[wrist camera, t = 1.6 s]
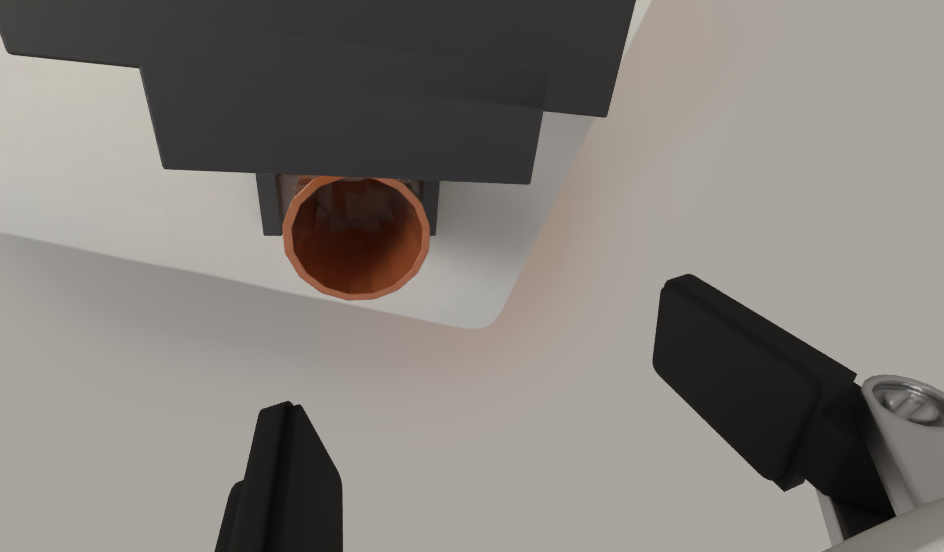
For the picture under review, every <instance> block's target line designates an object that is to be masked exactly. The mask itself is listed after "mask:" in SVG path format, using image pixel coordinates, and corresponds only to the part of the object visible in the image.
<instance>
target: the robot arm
mask: <svg viewBox="0 0 944 552" xmlns="http://www.w3.org/2000/svg"><path fill="white" fill-rule="evenodd" d="M653 367H654V369H655V371H656V372H657V374H658V375H659V376H660V377H661V378H662V379H663V380H664V381H665V382H666V383H667V384H668V385H669V386H670V387H671V388H672V389H674V390H675V392H676V393H678V394H679V395H680V396H681V397H682V398H683V399H684V400H685V401H686V402H687V403H688V404H689V405H690V406H691V407H692V408H693V409H694V410H695V411H696V412H697V413H698V414H699V415H700V416H701V417H702V418H703V419H704V420H705V421H706V422H707V423H708V424H709V425H710V426H711V427H712V428H713V429H714V430H715V431H716V432H717V433H718V434H720V436H721V437H722V438H724V440H725V441H727V443H728V444H730V445H731V447H733V448H734V449H735V450H736V451H737V452H738V453H739V454H740V455H741V456H742V457H743V458H744V459H745V460H746V461H747V462H748V463H749V464H750V465H751V466H752V467H753V468H754V469H755V470H756V471H757V472H758V473H759V474H760V475H761V476H763V477H764V478H766V479H768V480H772V481H773V482H775V483H776V484H777V485H778V486H779V487H780V488H781V489H782V490H783V491H784V492H785V491H787V490H789V489H791V488H794V487H796V486H798V485H800V484H802V483H804V481H805V479H806V480H807V481H809V482H810V483H811V484H812V485H813V486H814V487H815V488H816V491H817V495H818V498H819V502H820V505H821V509H822V513H823V516H824V519H825V523H826V527H827V530H828V534H829V537H830V541H831V544H832V547H831V548H829V549H827V550H825V551H823V552H944V392H942V391H940V390H938V389H936V388H934V387H932V386H930V385H928V384H925V383H923V382H920V381H917V380H914V379H910V378H906V377H901V376H896V375H878V376H872V377H870V378H868V379H867V380H865V381H864V383H863V385H862V387H861V386H859V385H857V384H856V383H854V380H855V378H856V375H857V374H856V373H855V372H853V371H851V370H850V369H848V368H847V367H845V366H843V365H842V364H840V363H838V362H836V361H835V360H833V359H832V358H830V357H828V356H827V355H825V354H823V353H822V352H820V351H818V350H817V349H815V348H813V347H811V346H810V345H808V344H807V343H805V342H803V341H802V340H800V339H798V338H797V337H795V336H793V335H792V334H790V333H789V332H787V331H785V330H784V329H782V328H780V327H778V326H777V325H775V324H774V323H772V322H770V321H769V320H767V319H765V318H764V317H762V316H760V315H759V314H757V313H755V312H754V311H752V310H750V309H749V308H747V307H745V306H744V305H742V304H740V303H739V302H737V301H736V300H734V299H732V298H730V297H729V296H727V295H726V294H724V293H722V292H721V291H719V290H717V289H716V288H714V287H712V286H711V285H709V284H707V283H706V282H704V281H702V280H701V279H699V278H697V277H696V276H694V275H691V274H686V275H683V276H679V277H676V278H673V279H670V280H668V281H667V282H666V283H665V286H664V287H663V288H662V289H661V293H660V302H659V310H658V318H657V327H656V335H655V344H654V353H653ZM342 508H343V506H342V482H341V478H340V475H339V473H338V471H337V469H336V467H335V465H334V463H333V462H332V460H331V458H330V456H329V454H328V453H327V451H326V449H325V447H324V445H323V443H322V442H321V440H320V438H319V436H318V434H317V432H316V431H315V429H314V427H313V425H312V424H311V422H310V420H309V418H308V416H307V414H306V413H305V411H304V409H303V407H302V406H301V405H300V404H298V405H295V406H293V404H292V403H291V402H290V401H286V402H283V403H280V404H277V405H273V406H270V407H267V408H264V409H262V410H261V411H260V412H259V415H258V419H257V424H256V429H255V433H254V437H253V442H252V446H251V451H250V455H249V459H248V463H247V468H246V472H245V477H244V480H242V481H239V482H237V483H236V484H235V485H234V486H233V487H232V489H231V492H230V494H229V497H228V501H227V505H226V509H225V513H224V517H223V521H222V525H221V529H220V533H219V537H218V540H217V544H216V548H215V552H343V516H342V515H343V509H342Z"/></svg>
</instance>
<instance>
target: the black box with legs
mask: <svg viewBox="0 0 944 552" xmlns="http://www.w3.org/2000/svg"><path fill="white" fill-rule="evenodd" d="M635 2H636V0H0V35H1V37H2V40H3V43H4V45H5V48H6V51H7V52H8V53H9V54H12V55H19V56H28V57H38V58H47V59H57V60H66V61H76V62H85V63H94V64H104V65H113V66H123V67H132V68H139V69H140V74H141V78H142V82H143V86H144V91H145V95H146V99H147V103H148V107H149V112H150V116H151V120H152V124H153V128H154V133H155V137H156V141H157V145H158V149H159V154H160V158H161V162H162V166H163V168H164V169H171V170H195V171H219V172H242V173H256V181H257V188H258V196H259V203H260V210H261V218H262V225H263V233H264V236H282V234H283V230H282V225H283V222H284V217H283V208H282V199H281V189H280V180H279V174H290V175H313V176H337V177H361V178H384V179H408V180H420V197H419V199H420V201H421V203H422V205H423V208H424V211H425V214H426V216H427V219H428V222H429V225H430V236H435V235H436V222H437V209H438V196H439V183H440V181H455V182H479V183H502V184H526V185H528V184H530V182H531V177H532V171H533V166H534V160H535V155H536V149H537V143H538V138H539V132H540V127H541V121H542V116H543V111H547V112H557V113H566V114H576V115H585V116H594V117H604V118H605V117H607V114H608V110H609V106H610V102H611V98H612V94H613V90H614V86H615V82H616V78H617V74H618V70H619V66H620V62H621V58H622V54H623V50H624V46H625V42H626V38H627V34H628V30H629V26H630V22H631V18H632V14H633V10H634V6H635Z"/></svg>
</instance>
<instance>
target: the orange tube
mask: <svg viewBox="0 0 944 552" xmlns="http://www.w3.org/2000/svg"><path fill="white" fill-rule="evenodd" d="M282 230H283V239H284V248H285V253H286V256H287V257H288V259H289V261H290V262H291V264H292V265H293V267H294V269H295V270H296V272H297V274H298V275H299V276H300V278H302V279H303V280H305V281H306V282H307V283H309V284H310V285H311V286H313V287H314V288H316V289H317V290H318V291H320V292H321V293H323V294H327V295H330V296H334V297H337V298H341V299H344V300H370V299H377V298H379V297H382V296H384V295H387V294H389V293H392V292H394V291H397V290H398V289H400V288H401V287H402V286H404V285H405V284H406V283H407V282H408V281H409V280H410V279H411V278H413V277H414V276H415V275H416V274H417V273H418V271H419V269H420V267H421V265H422V263H423V261H424V259H425V257H426V255H427V254H428V251H429V238H430V225H429V222H428V219H427V216H426V214H425V211H424V208H423V205H422V203H421V201H420V199H419V198H418V196H417V194H416V193H415V191H414V189H413V187H412V186H411V184H410V182H409V180H408V179H384V178H361V177H337V176H313V175H300V176H299V179H298V182H297V185H296V188H295V190H294V193H293V196H292V199H291V202H290V205H289V208H288V210H287V213H286V216H285V219H284V222H283V225H282Z"/></svg>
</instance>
